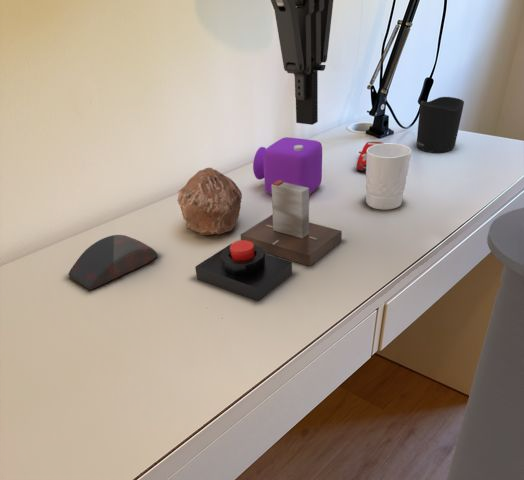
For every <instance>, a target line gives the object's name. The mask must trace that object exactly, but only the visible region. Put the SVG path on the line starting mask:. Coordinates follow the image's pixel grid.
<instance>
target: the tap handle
mask: <svg viewBox="0 0 524 480" xmlns="http://www.w3.org/2000/svg"><path fill="white" fill-rule="evenodd" d="M271 187H272V194H271V206H272V207H271V208H272V209H271V211H272V214H273V230H274V231H277V232H281V233H284V234H288V235H291V236H295V237H298V238H302V239H303V238H304V237H305V236H307V235H308V234H309V222H310V195H309V188H307V187H303V186H298V185H294V184H289V183H285V182H284V181H281V180H278V181H276V182H274V183H273V184H272V185H271Z"/></svg>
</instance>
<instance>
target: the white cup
mask: <svg viewBox="0 0 524 480" xmlns="http://www.w3.org/2000/svg"><path fill="white" fill-rule="evenodd" d="M382 143H383V144H376V145H373V146H370V147H369V148H368V149H367V159H366V171H365V188H366V189H365V191H366V192H365V197H366V198H365V203H366V205H367V206H369V207H370V208H373V209H377V210H387V211H388V210H394V209H397V208H399V207H400V206H402V203H403V196H404V192H405V190H406V184H407V177H408V173H409V168H410V161H411V155H412V149H411V148H410V147H409V146H407V145H404V144H401V143H395V142H394V143H392V142H391V143H390V142H387V143H386V142H382Z"/></svg>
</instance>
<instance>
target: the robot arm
mask: <svg viewBox="0 0 524 480" xmlns="http://www.w3.org/2000/svg"><path fill="white" fill-rule="evenodd" d="M270 3H271V5H272V7H273V10H274V16H275V22H276V29H277V32H278V33H277V34H278V40H279V47H280V51H281V59H282V65H283V70H284V71H285V72H286V73H287V74H293V75H294V97H295V122H296V124H303V125H311V126H312V125H315V124H318V122H319V121H318V120H319V118H318V117H319V116H318V114H319V110H318V109H319V108H318V104H319V102H318V96H319V95H318V94H319V93H318V92H319V90H318V88H319V87H318V85H319V84H318V83H319V81H318V78H319V77H318V73H319V72H318V71H320V72H324V71H325V69H326V64H325V63H326V62H327V61H328V53H329V45H330V36H331V35H330V34H331V27H332V17H333V10H334V9H333V8H334V0H270Z"/></svg>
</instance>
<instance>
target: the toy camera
mask: <svg viewBox="0 0 524 480" xmlns="http://www.w3.org/2000/svg"><path fill="white" fill-rule="evenodd" d="M252 170H253V176H254V177H255V178H256V179H257V180H264V181H263V182H264V189H265V193H267V194H269V195H272V187H271V185H272V184H273V183H274V182H276V181H278V180H281V181H284V182H285V183H289V184H294V185H298V186H303V187H307V188H309V196H310V195H311V194H312V193H313V192H314V191H316V190H317V189H318V188H319V187H320V185H321V184H322V180H323V179H322V178H323V145H322V143H321V142H320V141H318V140H315V139H307V138H299V137H288V136H287V137H282V138H280V139H278V140H276V141H275V142H273V143H272V144H271V145H269V146H267V147H265V146H260V147H259V148H257V150H256V152H255V155H254V157H253V164H252Z"/></svg>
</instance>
